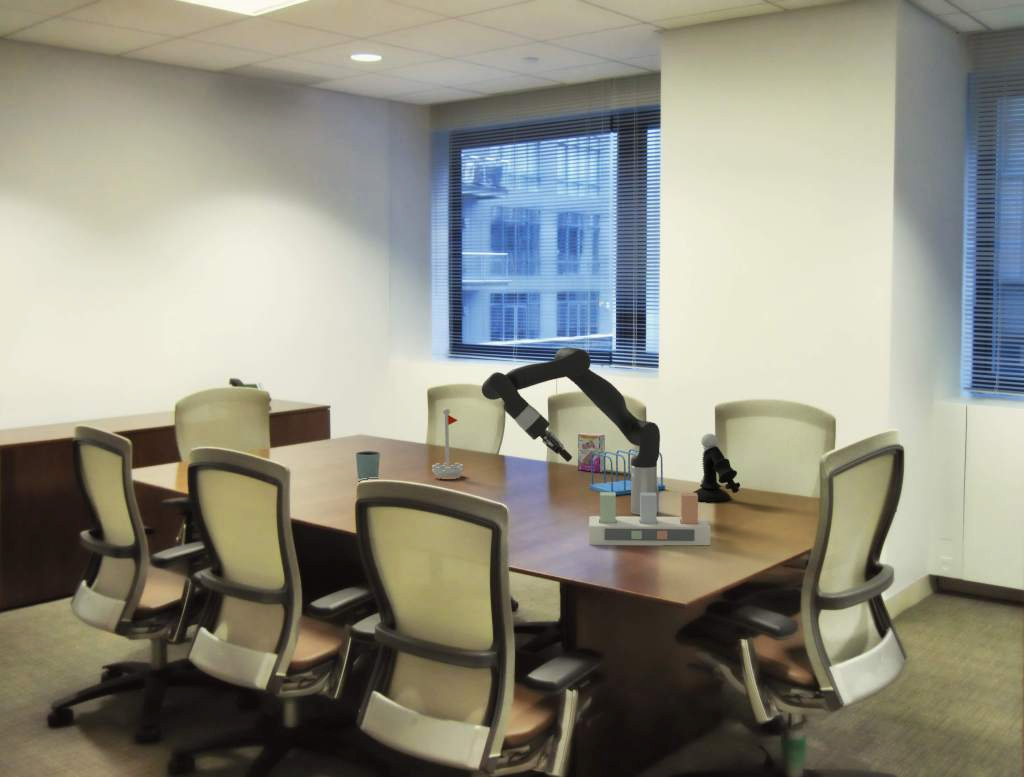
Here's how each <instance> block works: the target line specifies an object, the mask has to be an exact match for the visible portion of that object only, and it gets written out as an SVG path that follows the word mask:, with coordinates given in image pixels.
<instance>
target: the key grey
mask: <svg viewBox="0 0 1024 777" xmlns="http://www.w3.org/2000/svg"><path fill="white" fill-rule="evenodd" d="M657 514H658V512H657V495H656V493H646V492H640V515H639V517H640V524H657V517H658V516H657Z"/></svg>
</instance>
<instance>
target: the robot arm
mask: <svg viewBox="0 0 1024 777" xmlns="http://www.w3.org/2000/svg"><path fill="white" fill-rule="evenodd" d="M591 363H592V362H591V357H590V354H589V353H588V352H587V351H585V350H584V349H581V348H577V347H569V346H568V347H567V346H566V347H562V348H560V349H558V350H557V351H556V353H555V354H554V360H550V361H545V362H538V363H531V364H527V365H523V366H520V367H517V368H514V369H512V370H510V371H507V373H505V374H504V373H502V372H499V371H498V372H497V371H495V372H493V373H492V374H491V375H490V376H489V377H488V378H487V379H486V380H485V381H484V382H483V384H482V386H481V393H482V395H483V397H485V398H486V399H487V400H491V401H493V400H494V401H495V400H499V399H501V400H502V401H503V410H504V411H505V412H506V413H507V414H508V415H509V416H510V417H511V418H512V419H513V420H514V421H515V423H516V424H517V425H518V426H519V427H520V428H521V429H522V430H523V431H524V432H525V433H526V434H527V435H528V436H529V437H530V439H532V440H537V439H538V438H539V437H540V438H541V439H542V441H541V442H542V443H543V444H544V445H546V447H548V448H549V449H550V450H552V452H554V453H555V454H557V455H559V456H560V457H562V458H563V459H564V460H565V461H566V462H567V463H569V462H570V461H571V460H572V459H573V456H572V454H570V453H569V452H568V450H567V449H566V448H565V446H564V444H563V443H562V442H561V440H559V438H557V436H556V435H555V433H554V432H552V431H549V430H548V428H549V427H550V425H551V424H550V422H549V421H548V420H547V419H546V418H545V417H544V416H543V415H542V414H541V413H540V412H539V411H538V410H537V409H536V408H535V407H533V406H532V405H531V404H530V403H529V402H528V401H527V400H525V398H524V397H522V395H521V394H520V393H519V391H520V390H522V389H527V388H529V387H533V386H537V385H539V384H542V383H546V382H548V381H552V380H558V379H561V378H567V379H569V380H570V381H571V382H572V383H573V384H575V385H576V386H577V387H578V388H579V389H580V390H581V391H582V393H583V394H584V395H585V396H586V397H587V398H588V400H590V401H591V402H592V403H593V404H594V405H595V407H596V408H597V409H599V411H601V412H602V413H603V414H604V415H605V416H606V417H607V418H608V420H610V421H611V422H612V424H614V425H615V426H616V427H617V428H618V429H619V431H620V432H621V433H622V435H623V436H624V437H625V439H626V440H627V441H628V442H629V443H630V444H631V445H633V446H636V447H639V449H638V450H639V452H638V454H637V455H636V456H634V455H633V456H632V457H631V458H630V480H631V493H630V512H631V514H633V515H637V516H640V492H646V493H656V495H657V513H659V510H660V509H659V508H660V506H659V504H660V502H659V501H660V499H659V496H660V495H659V494H660V492H659V491H660V490H659V487H658V486H657V483H658V460H659V457H660V454H659V452H660V444H661V431H660V428H659V426H658V424H657V423H656V422H652V421H645V420H642V419H641V420H640V419H638V418H637V417H636V416H635V415H634V414H633V413H632V412H630V410H629V409H628V407H627V403H626V399H625V397H624V395H623V394H622V393H621V391H619V390H618V388H617V387H615V386H614V385H613V383H611V382H610V381H608V380H607V379H605V378H604V377H603V376H601V375H599V374H598V373H596V372H594V371H593V370H591V369H590V367H591Z"/></svg>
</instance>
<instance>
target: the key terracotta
mask: <svg viewBox="0 0 1024 777" xmlns="http://www.w3.org/2000/svg"><path fill="white" fill-rule="evenodd" d="M680 517H681V524H698V517H699V502H698V495H697V493H693V492H681V493H680Z"/></svg>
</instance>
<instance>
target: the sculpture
mask: <svg viewBox="0 0 1024 777" xmlns="http://www.w3.org/2000/svg"><path fill="white" fill-rule="evenodd" d="M718 443H719V440H718V437H717V436H716V435H715V434H713V433H706V434H704V435H703V436H702V437H701V445H702V448H703V452H702V459H701V460H702V461H701V462H702V463H701V465H702V471H703V476H702V479H701V480H700V483H701V484H700V485H699V487H700V488H698V489H697V490H695V491H693V492H692V493H697V495H698V503H702V502H706V503H705V504H720V503H727V502H730V501H731V498H732V497H731V495H730V494H729V493H728V492H727V491H726V490H731V491H732V493H733V494H737V492H739V491H740V487H741V483H740V482H735V481H734V479H735V478H736V477H737V475H738V472H737V470H735V469H733V468H732V466H731V463H730V460H729V458H725V456H724V454H723V452H722V451H721V449H720V448H719V446H718ZM717 474H718V477H717ZM717 478H718V480H717ZM718 482H719V483H720V484H725V489H726V490H724V489H722V485H720V484H719V483H718Z"/></svg>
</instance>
